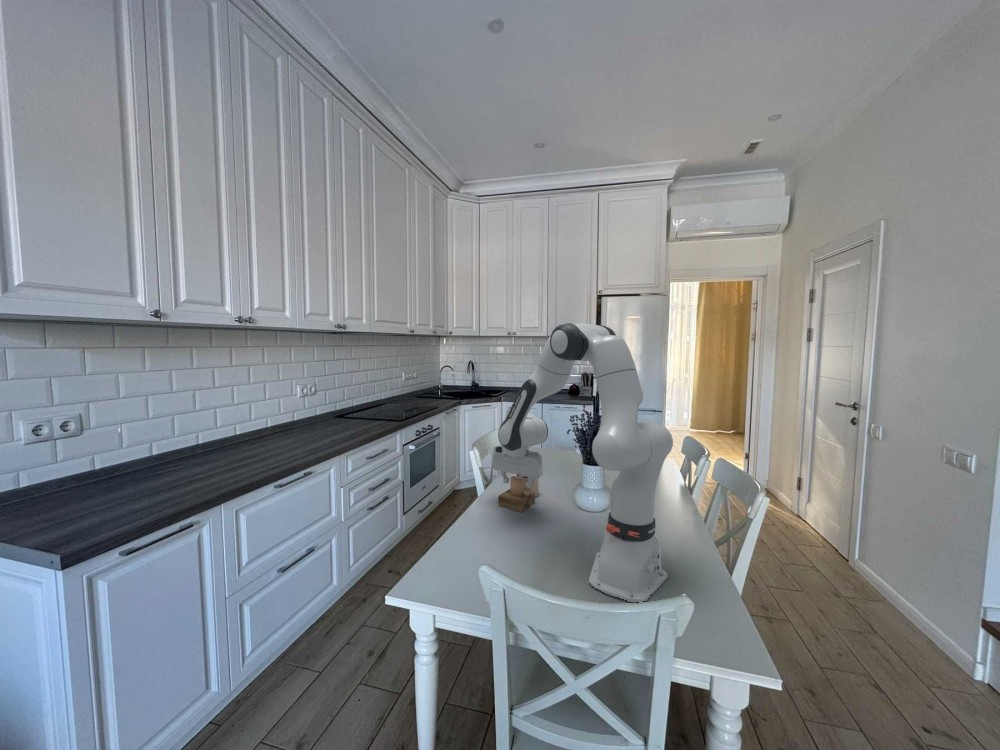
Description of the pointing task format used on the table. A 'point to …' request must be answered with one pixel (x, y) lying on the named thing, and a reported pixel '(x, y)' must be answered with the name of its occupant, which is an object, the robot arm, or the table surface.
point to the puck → (517, 485)
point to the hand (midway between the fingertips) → (516, 485)
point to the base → (516, 501)
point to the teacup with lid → (533, 484)
